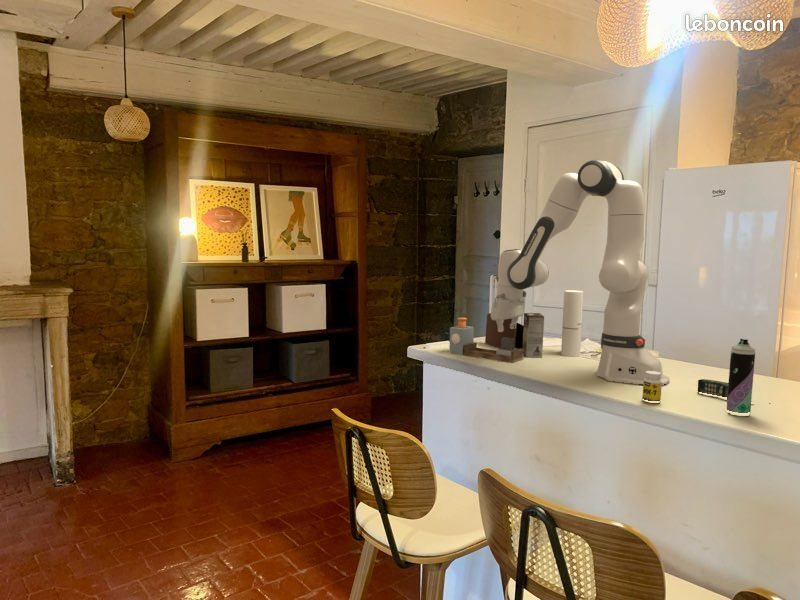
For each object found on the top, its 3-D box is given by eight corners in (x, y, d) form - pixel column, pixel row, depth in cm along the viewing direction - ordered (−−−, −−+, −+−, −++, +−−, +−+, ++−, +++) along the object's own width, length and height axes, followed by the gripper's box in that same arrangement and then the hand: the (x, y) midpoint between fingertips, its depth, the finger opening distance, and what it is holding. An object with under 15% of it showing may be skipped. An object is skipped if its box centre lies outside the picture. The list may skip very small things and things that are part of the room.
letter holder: (513, 352, 235) (515, 317, 233) (484, 344, 252) (485, 311, 251) (533, 350, 239) (534, 316, 238) (503, 342, 257) (504, 310, 255)
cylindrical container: (584, 355, 230) (587, 291, 227) (571, 357, 226) (575, 292, 223) (569, 352, 236) (572, 290, 233) (557, 354, 232) (560, 290, 229)
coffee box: (521, 352, 233) (523, 312, 232) (538, 353, 233) (539, 312, 231) (526, 357, 224) (527, 315, 222) (543, 357, 224) (545, 316, 222)
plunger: (468, 334, 231) (468, 318, 231) (463, 335, 229) (463, 319, 228) (460, 333, 234) (460, 317, 233) (455, 334, 231) (455, 318, 230)
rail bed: (523, 359, 220) (523, 349, 220) (513, 363, 214) (513, 352, 213) (474, 352, 233) (474, 342, 232) (463, 355, 227) (463, 344, 226)
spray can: (727, 415, 154) (733, 339, 152) (724, 409, 159) (730, 336, 157) (751, 418, 152) (758, 341, 150) (747, 412, 157) (754, 338, 155)
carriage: (518, 356, 220) (519, 338, 219) (510, 359, 215) (511, 340, 215) (503, 354, 224) (504, 336, 223) (496, 356, 219) (496, 338, 218)
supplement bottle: (639, 401, 166) (641, 372, 165) (645, 398, 169) (646, 369, 168) (657, 405, 163) (659, 375, 162) (662, 401, 166) (664, 372, 165)
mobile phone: (696, 378, 175) (751, 388, 163) (701, 377, 177) (756, 386, 165) (696, 395, 175) (750, 405, 163) (700, 393, 177) (755, 404, 165)
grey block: (473, 352, 233) (473, 327, 232) (461, 355, 227) (462, 329, 226) (460, 350, 237) (460, 325, 236) (448, 353, 230) (449, 327, 229)
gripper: (503, 296, 207) (501, 334, 209) (528, 292, 223) (526, 328, 225) (487, 294, 211) (485, 332, 213) (513, 290, 227) (511, 326, 229)
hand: (506, 330), depth 219 cm, fingers open, 8 cm apart
